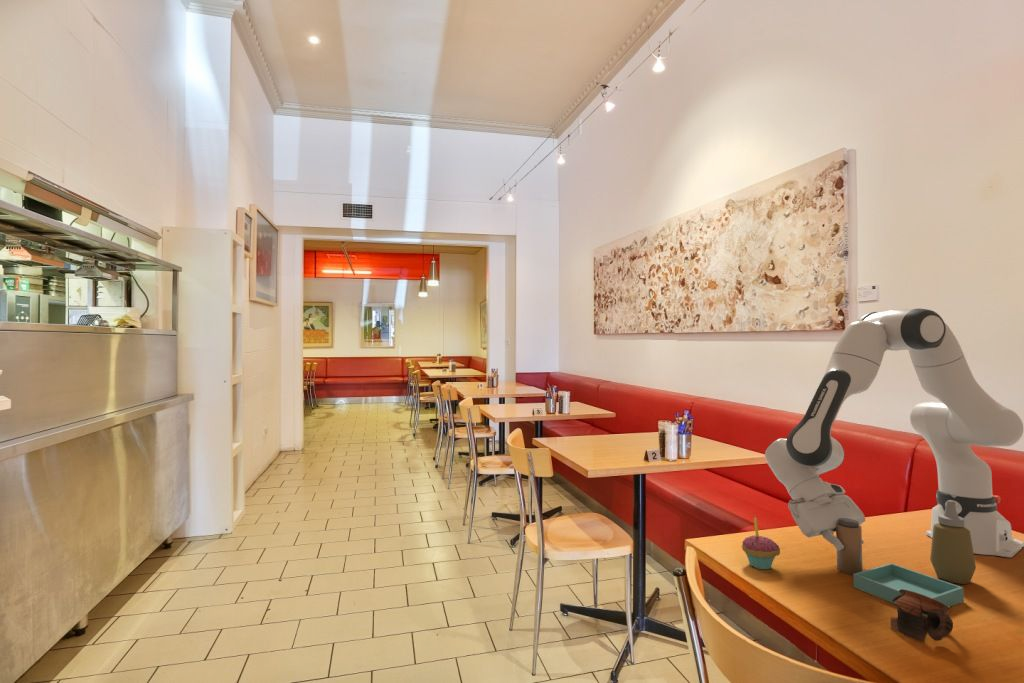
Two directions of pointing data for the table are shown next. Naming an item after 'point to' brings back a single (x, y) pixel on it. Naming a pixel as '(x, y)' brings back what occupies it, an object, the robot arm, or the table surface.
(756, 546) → the cupcake
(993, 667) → the table surface
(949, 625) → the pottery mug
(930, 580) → the tray
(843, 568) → the shaker
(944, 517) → the squeeze bottle
